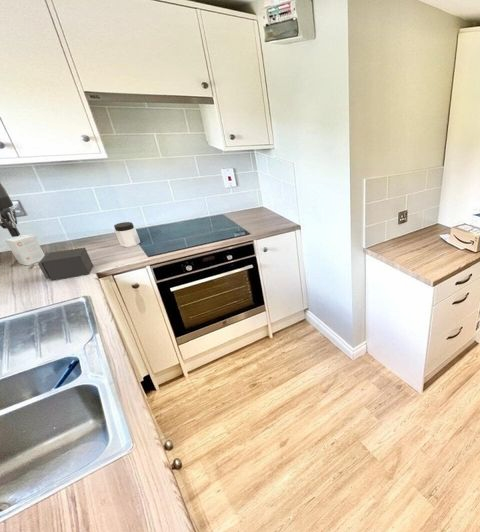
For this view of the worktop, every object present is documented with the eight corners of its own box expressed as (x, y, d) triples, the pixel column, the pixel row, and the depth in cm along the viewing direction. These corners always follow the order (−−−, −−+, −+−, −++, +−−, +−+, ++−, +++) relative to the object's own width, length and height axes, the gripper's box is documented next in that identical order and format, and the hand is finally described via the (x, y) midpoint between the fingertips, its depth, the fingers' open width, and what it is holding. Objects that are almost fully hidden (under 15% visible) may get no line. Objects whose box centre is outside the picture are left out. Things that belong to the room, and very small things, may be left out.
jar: (134, 247, 180) (127, 226, 174) (118, 247, 178) (110, 227, 173) (143, 240, 188) (135, 221, 182) (127, 241, 186) (119, 221, 181)
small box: (39, 257, 165) (26, 233, 159) (47, 259, 164) (34, 235, 158) (18, 263, 159) (4, 239, 153) (27, 265, 157) (13, 241, 151)
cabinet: (51, 281, 145) (41, 261, 141) (58, 271, 153) (48, 252, 149) (89, 274, 151) (80, 255, 147) (93, 265, 159) (85, 247, 155)
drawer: (29, 282, 142) (20, 266, 138) (36, 273, 149) (28, 258, 145) (80, 273, 150) (73, 258, 146) (84, 265, 157) (77, 250, 154)
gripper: (-13, 193, 132) (9, 232, 140) (-28, 201, 123) (-3, 243, 130) (13, 191, 136) (33, 229, 144) (0, 199, 126) (23, 239, 134)
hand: (16, 236), depth 137 cm, fingers closed
